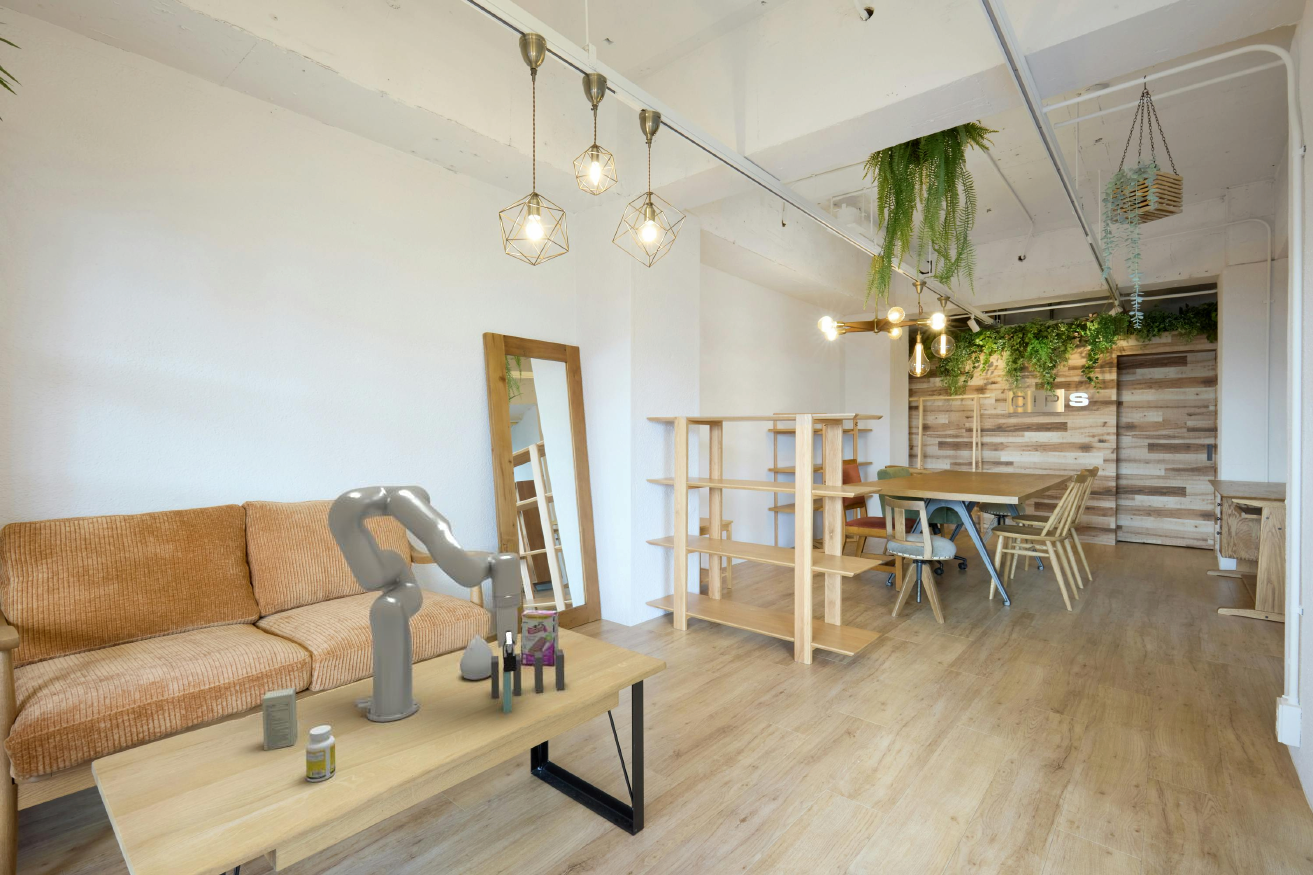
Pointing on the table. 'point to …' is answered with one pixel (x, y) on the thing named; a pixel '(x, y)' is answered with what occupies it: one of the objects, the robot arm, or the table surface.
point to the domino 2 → (506, 691)
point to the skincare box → (279, 718)
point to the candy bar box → (539, 636)
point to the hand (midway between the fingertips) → (509, 664)
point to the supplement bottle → (320, 754)
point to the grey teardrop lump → (476, 660)
